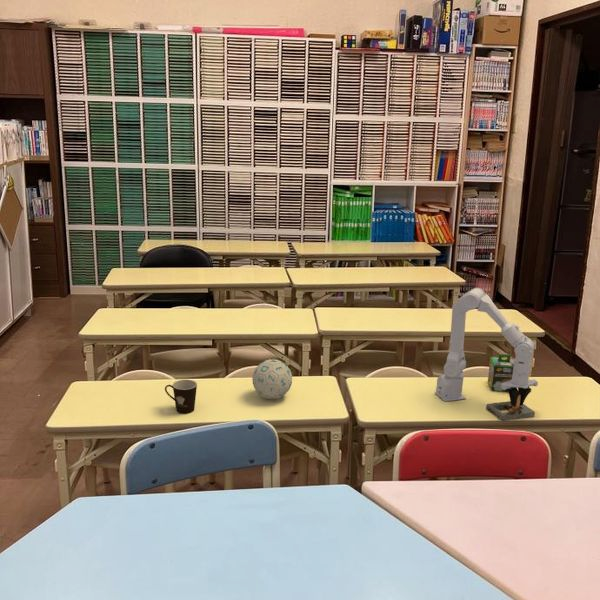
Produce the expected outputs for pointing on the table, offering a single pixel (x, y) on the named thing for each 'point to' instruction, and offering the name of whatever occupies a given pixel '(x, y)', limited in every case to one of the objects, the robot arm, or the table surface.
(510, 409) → the peg
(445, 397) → the robot arm
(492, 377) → the chalk box
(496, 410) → the keyhole plate
